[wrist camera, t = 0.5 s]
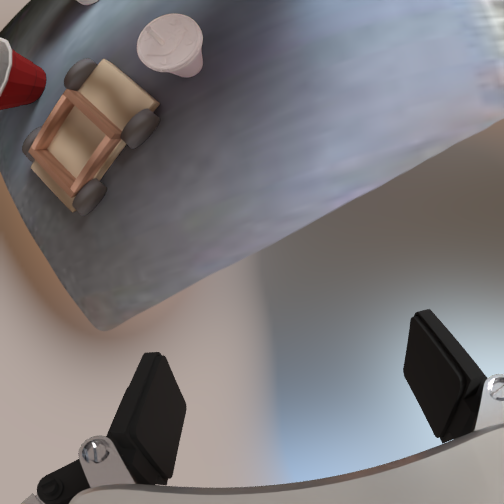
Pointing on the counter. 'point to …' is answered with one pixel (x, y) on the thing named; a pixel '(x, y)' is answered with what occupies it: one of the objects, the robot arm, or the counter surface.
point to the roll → (87, 2)
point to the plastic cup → (18, 78)
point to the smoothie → (172, 45)
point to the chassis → (89, 132)
